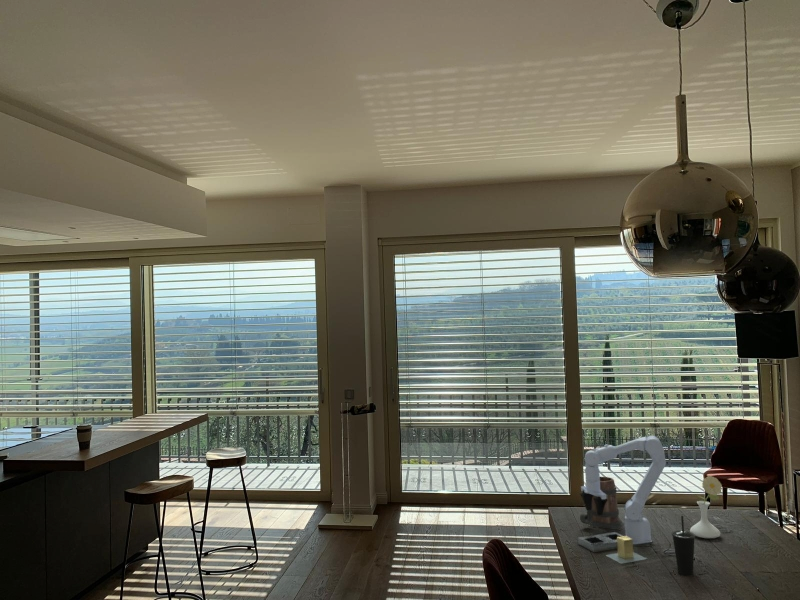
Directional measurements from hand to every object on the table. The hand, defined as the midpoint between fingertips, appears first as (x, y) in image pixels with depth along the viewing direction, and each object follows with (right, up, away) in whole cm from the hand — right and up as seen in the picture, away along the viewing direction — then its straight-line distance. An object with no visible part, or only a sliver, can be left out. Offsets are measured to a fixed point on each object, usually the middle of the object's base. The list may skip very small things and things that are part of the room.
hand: (594, 512), depth 246 cm
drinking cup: (+19, -8, -39) cm, 44 cm away
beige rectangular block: (+4, -8, -24) cm, 26 cm away
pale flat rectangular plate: (+4, -9, -24) cm, 26 cm away
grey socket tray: (+1, -10, -11) cm, 15 cm away
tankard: (+8, -12, +16) cm, 21 cm away
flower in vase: (+46, -9, -3) cm, 47 cm away
